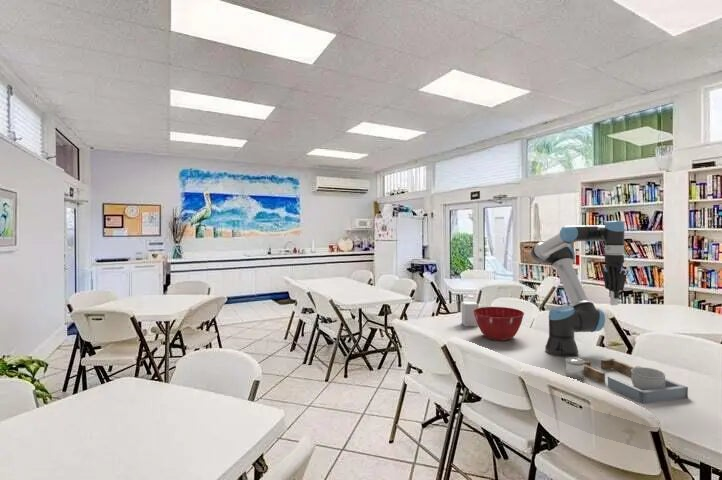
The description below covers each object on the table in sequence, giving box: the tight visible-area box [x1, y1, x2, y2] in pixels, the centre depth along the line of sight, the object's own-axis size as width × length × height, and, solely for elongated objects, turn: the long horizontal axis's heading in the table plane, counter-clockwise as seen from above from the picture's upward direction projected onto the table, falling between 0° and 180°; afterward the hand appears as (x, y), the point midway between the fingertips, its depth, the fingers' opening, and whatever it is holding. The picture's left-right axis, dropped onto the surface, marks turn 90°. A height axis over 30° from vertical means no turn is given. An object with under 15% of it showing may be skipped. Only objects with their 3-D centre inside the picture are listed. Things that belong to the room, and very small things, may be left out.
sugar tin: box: [564, 356, 586, 382], centre depth 165 cm, size 7×7×8 cm
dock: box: [607, 376, 689, 404], centre depth 150 cm, size 16×20×4 cm
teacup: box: [631, 365, 666, 391], centre depth 151 cm, size 14×11×8 cm
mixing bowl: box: [473, 306, 525, 341], centre depth 227 cm, size 28×28×15 cm
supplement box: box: [461, 301, 479, 327], centre depth 257 cm, size 9×9×15 cm
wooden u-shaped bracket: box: [584, 358, 636, 384], centre depth 168 cm, size 14×19×4 cm
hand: (614, 304), depth 178 cm, fingers closed
